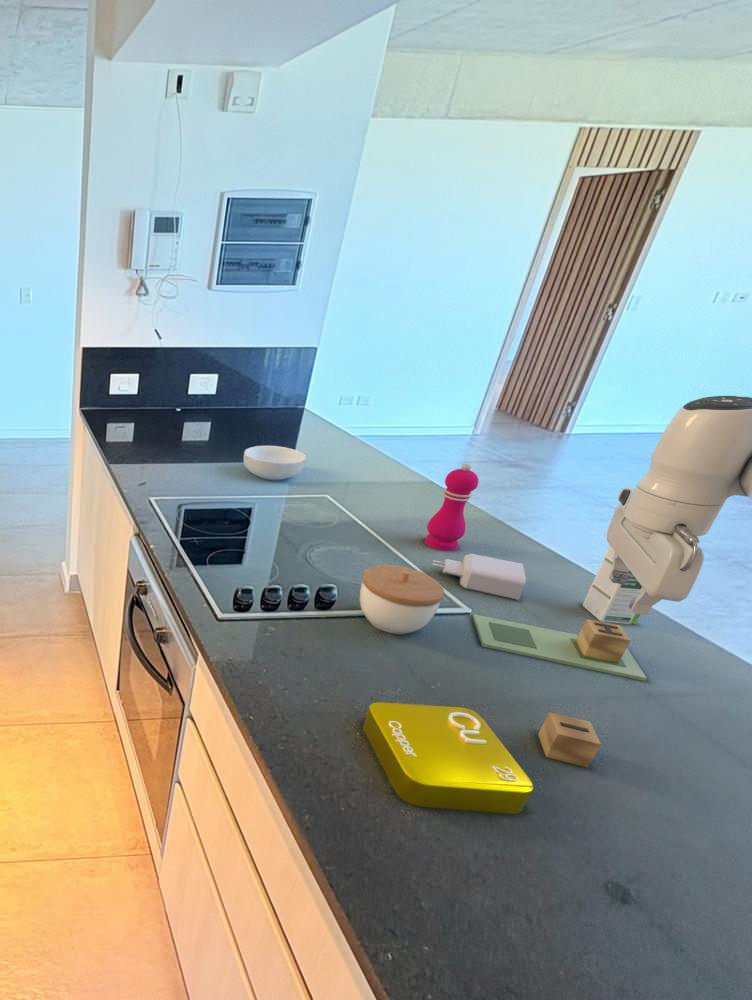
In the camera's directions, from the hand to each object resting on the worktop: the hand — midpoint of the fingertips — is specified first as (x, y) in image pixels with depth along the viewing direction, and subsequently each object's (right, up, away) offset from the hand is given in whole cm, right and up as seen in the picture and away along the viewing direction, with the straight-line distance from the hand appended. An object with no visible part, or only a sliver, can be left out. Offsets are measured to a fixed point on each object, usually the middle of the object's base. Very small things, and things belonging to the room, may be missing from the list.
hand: (626, 596), depth 92 cm
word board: (0, -10, +14) cm, 17 cm away
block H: (+6, -10, +11) cm, 16 cm away
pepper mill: (+4, +7, +48) cm, 49 cm away
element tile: (-35, -22, -9) cm, 43 cm away
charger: (+1, 0, +34) cm, 34 cm away
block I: (-16, -21, -7) cm, 28 cm away
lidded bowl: (-24, -7, +20) cm, 32 cm away
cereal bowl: (-19, +27, +88) cm, 94 cm away
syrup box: (+18, -6, +23) cm, 30 cm away
